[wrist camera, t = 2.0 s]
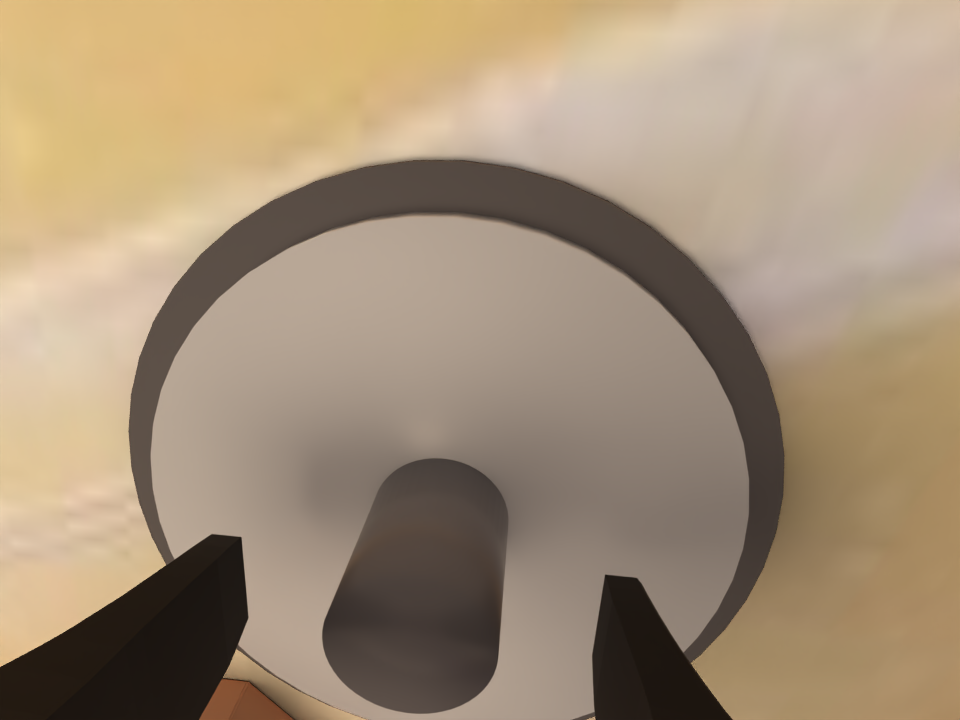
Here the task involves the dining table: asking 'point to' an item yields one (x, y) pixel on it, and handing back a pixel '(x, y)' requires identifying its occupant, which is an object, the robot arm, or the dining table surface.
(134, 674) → the robot arm
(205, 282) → the mat
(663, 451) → the lid
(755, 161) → the dining table surface
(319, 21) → the dining table surface
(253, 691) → the bowl
